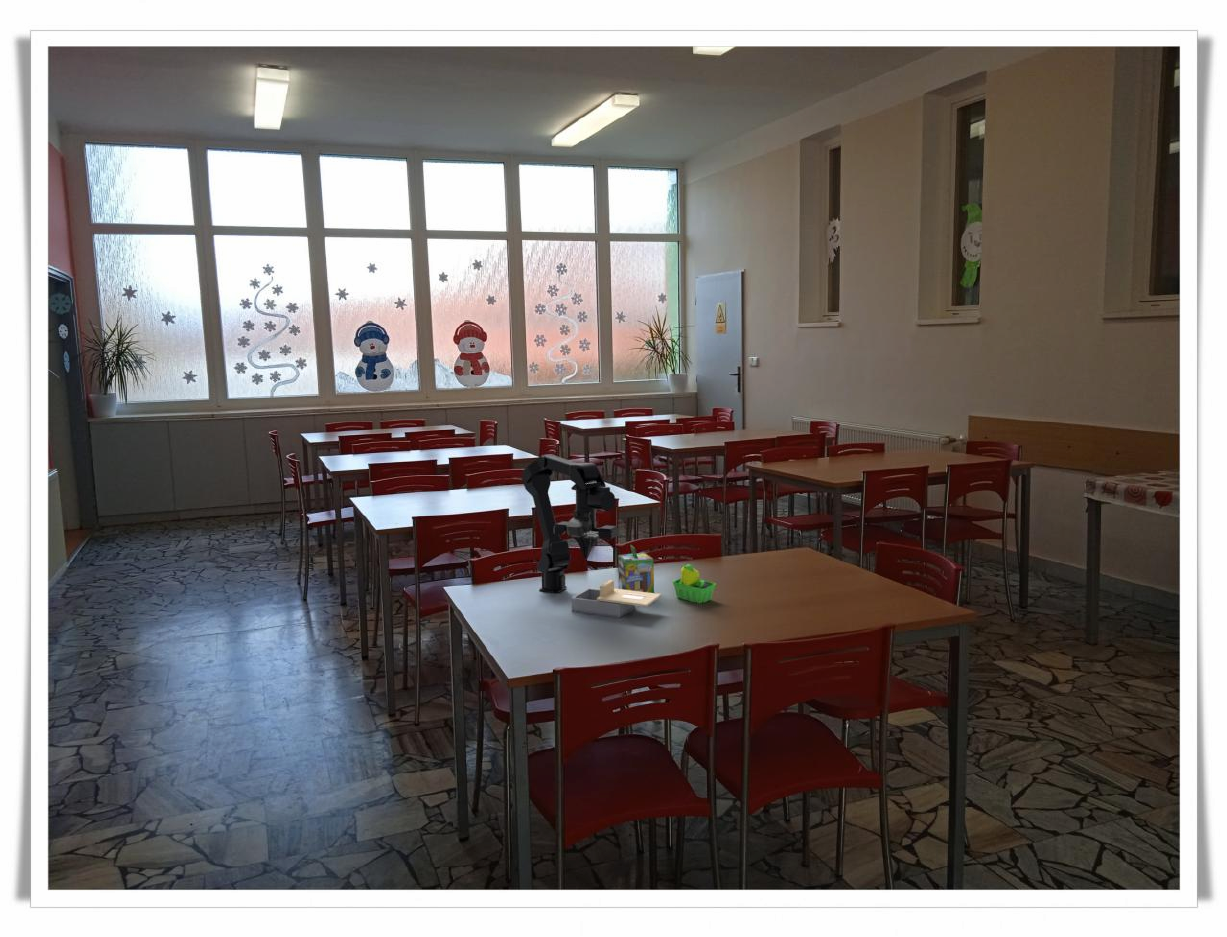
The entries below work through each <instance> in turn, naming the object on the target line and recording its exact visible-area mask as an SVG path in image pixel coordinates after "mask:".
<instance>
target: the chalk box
mask: <svg viewBox="0 0 1227 937" xmlns="http://www.w3.org/2000/svg"><path fill="white" fill-rule="evenodd" d="M629 547H630V550H631V553H627V554H626V553H625V554H619V555H618V556H617V561H618V562H617V565H618V566H617V567H618V571H617V572H618V589H623V590H632V591H640V592H648V593H655V577H654V576H655V570H654V567H655V566H654V562H655V561H654V558H653V557H651V556H650V555H649V554H647V553H643V552H641V553H637V552H636V548H635V546H633V545H632V544H630V546H629Z"/></svg>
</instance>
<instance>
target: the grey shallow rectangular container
mask: <svg viewBox="0 0 1227 937" xmlns="http://www.w3.org/2000/svg"><path fill="white" fill-rule="evenodd" d="M598 597H600V588H599V589H597V588H589V587H588V588H586V589H585V590H583V591H580V592H579V593H578V594H576V595H574V596H572V597H571V612H572V613H580V614H587V615H593V616H594V615H595V616H600V617H601V616H602V617H608V618H615V619H621V618H622V617H624V616H625V615H626V614H628V613H629V612H631V611H632V610H634V609H636V605H629V604H622V603H614V602H606V601H599V600H597V598H598Z"/></svg>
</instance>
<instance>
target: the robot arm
mask: <svg viewBox="0 0 1227 937" xmlns="http://www.w3.org/2000/svg"><path fill="white" fill-rule="evenodd" d="M555 473H558V474H562V475H564V476H566V477H568V479H569V481H571V482H572V483H574V484H573V485H572V486H571V487H570V488H571V490H572V491H575V510H574V511H573V516H572V518H571V519H570V520H568V521H564V520H563V521H560V522H556V519H555V514H554V511H553V506H552V503H551V498H550V495H549V491H550V490H549V489H550V487H551V477H552V476H553V474H555ZM601 474H602V473H601V472H600V470H599V468H598V466H597V464H596V463H594V462H575V461H572V460H569V459H566V458H563V457H560V456H557V455H556V454H552V453H551V454H542V455H540V456H539V457H538V458H536V460H534V461H533V462H532V463H529V465H527V467H525V468H524V469H523V472H522V473H521V476H520V477H521V481H522V484H523V486H524V489H525V491H526V492H528V493H529V495H530V496H531V497H532V499H533V503H534V508H535V510H536V511H535V512H536V515H537V516H536V517H537V519H538V523H539V527H540V531H541V535H542V539H543V543H542V547H541V550H540V552H541V557H540V559H539V560H538V562H537V563H536V569H537V572H540V573H541V587H540V588H539V589H538V590H539V592H547V593H556V594H558V593H560V592H562V591H563V590H565V589H567V588H568V587H567V586H566V575H565V570H568V569H569V566H570V562H571V558H572V557H571V553H572V552H571V550H570V546H569V542H568V540H565V539H564V540H563V538H561V536H560V535H564V534H565V533H567V535H568V536H570V537H571V539H573V540H575V541H576V542H577V544H578V546H579V548H580V550H581V551H580V552H581V554H582V557H583V559H584V560H587V559H589V557H590V556H591V552H592V549H593V547H594V545H595V543H596V541H597V539H598V538H599V539H603V540H604V539H605V540H612V539H614V538H616V537H618V536H619V528H618V527H617V525H607V524H606V525H604V526H601V527H598V522H597V521H596V518H597V517H596V516H597V515H596V513H598V511H599V510H600V511H603V512H610V511H612V510H613V509H614V508H615V506H616V499H617V498H616V495H615V494H614V493H613V492H612V491H611V487H609V486H606V483H605V480H604V478H603V476H602V475H601Z"/></svg>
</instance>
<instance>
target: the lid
mask: <svg viewBox="0 0 1227 937" xmlns="http://www.w3.org/2000/svg"><path fill="white" fill-rule="evenodd" d="M599 590H600V597H598V598H597V600H599V601H606V602H614V603H622V604H629V605H635V606H639V607H649V606H650V605H651V604H652V603H654V602H655V601H656V600H658V599H660V597H661V596H662V594H661V593H656V592H654V593H648V592H640V591H632V590H623V589H619V588H615V580H613V579H609V580H608V581H606V582H604V583H603V584H601V585H599Z"/></svg>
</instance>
